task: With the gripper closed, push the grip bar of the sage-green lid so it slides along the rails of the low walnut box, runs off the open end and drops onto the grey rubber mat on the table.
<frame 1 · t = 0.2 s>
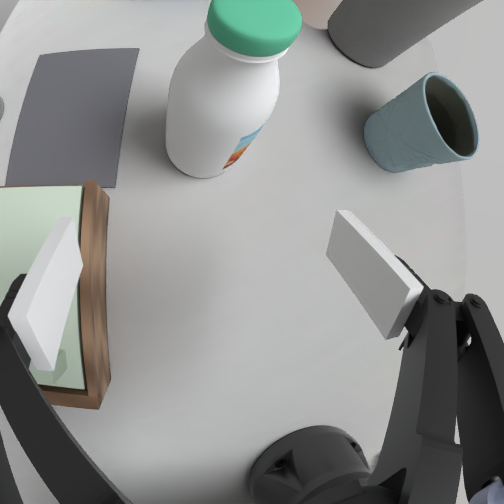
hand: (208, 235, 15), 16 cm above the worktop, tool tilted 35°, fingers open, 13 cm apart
milk bottle: (202, 144, 31), on the worktop
lid: (29, 286, 21), point 5 cm above the worktop, touching walnut box
teal cup: (388, 144, 37), on the worktop
canister: (356, 41, 37), on the worktop
walnut box: (50, 288, 26), on the worktop
mat: (69, 111, 27), on the worktop
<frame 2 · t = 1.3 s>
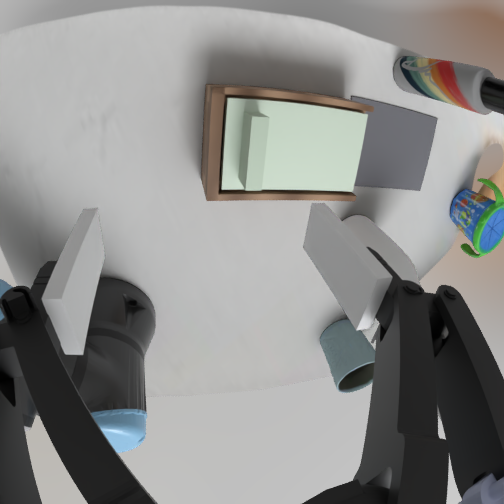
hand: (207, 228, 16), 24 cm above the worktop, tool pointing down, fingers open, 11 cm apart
milk bottle: (351, 234, 49), on the worktop
lotion bottle: (406, 73, 36), on the worktop
lid: (294, 145, 33), point 5 cm above the worktop, touching walnut box
teal cup: (337, 333, 63), on the worktop
walnut box: (275, 134, 38), on the worktop
mat: (391, 147, 42), on the worktop
snack cup: (459, 204, 52), on the worktop
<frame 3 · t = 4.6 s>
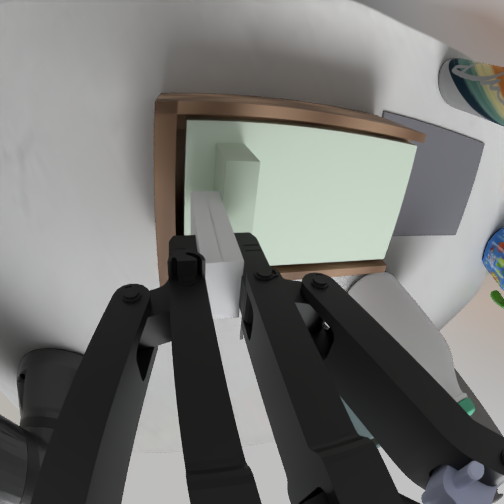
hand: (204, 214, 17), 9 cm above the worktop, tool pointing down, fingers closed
milk bottle: (368, 293, 37), on the worktop
lotion bottle: (453, 82, 24), on the worktop
lid: (303, 194, 21), point 6 cm above the worktop, touching gripper
teal cup: (340, 392, 51), on the worktop
canister: (416, 363, 54), on the worktop
walnut box: (270, 169, 26), on the worktop
mat: (428, 183, 30), on the worktop
snack cup: (493, 245, 40), on the worktop
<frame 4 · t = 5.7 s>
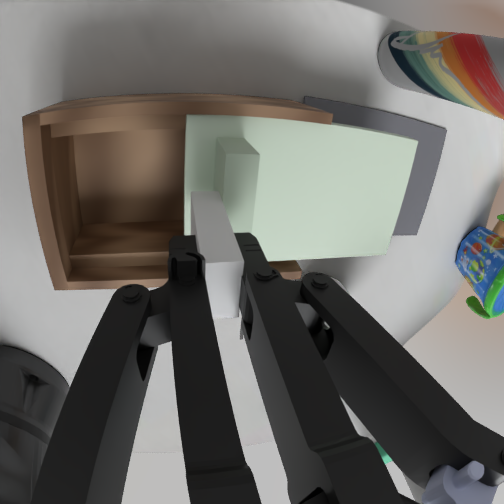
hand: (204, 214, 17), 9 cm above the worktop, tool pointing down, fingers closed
milk bottle: (311, 299, 35), on the worktop
lotion bottle: (399, 59, 22), on the worktop
lid: (303, 189, 21), point 6 cm above the worktop, touching gripper, walnut box
walnut box: (173, 168, 24), on the worktop
mat: (374, 176, 28), on the worktop
snack cup: (469, 246, 38), on the worktop
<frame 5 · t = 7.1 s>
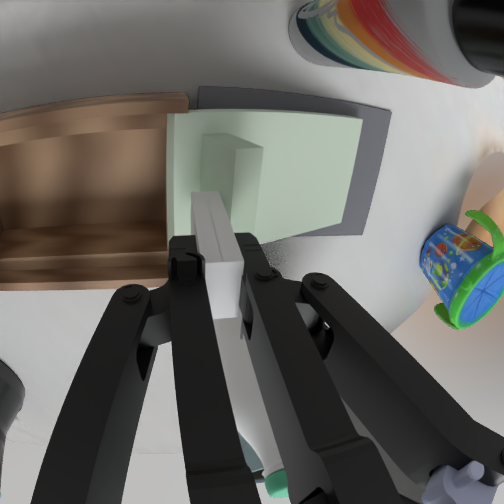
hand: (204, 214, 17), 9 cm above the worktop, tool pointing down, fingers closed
milk bottle: (241, 305, 33), on the worktop
lotion bottle: (319, 33, 20), on the worktop
lid: (271, 175, 23), point 3 cm above the worktop, tilted 21°, touching walnut box
teal cup: (254, 409, 47), on the worktop
canister: (351, 381, 50), on the worktop
walnut box: (73, 173, 22), on the worktop
mat: (296, 169, 26), on the worktop
snack cup: (437, 247, 36), on the worktop
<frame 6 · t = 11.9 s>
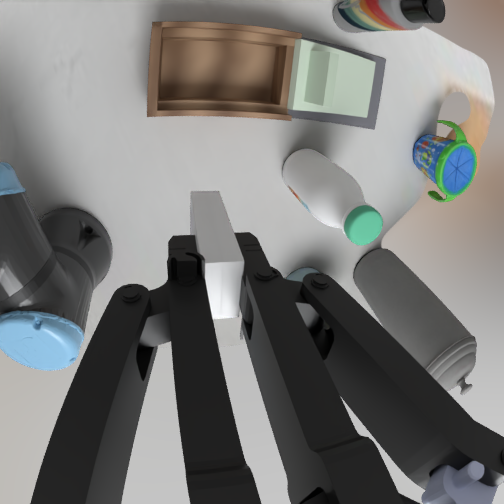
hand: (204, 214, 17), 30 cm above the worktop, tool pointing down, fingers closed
milk bottle: (303, 169, 50), on the worktop
lotion bottle: (347, 17, 37), on the worktop
lid: (333, 81, 40), point 3 cm above the worktop, tilted 20°, touching mat, walnut box
canister: (373, 267, 66), on the worktop
walnut box: (217, 69, 38), on the worktop
mat: (336, 84, 43), on the worktop
snack cup: (424, 151, 53), on the worktop
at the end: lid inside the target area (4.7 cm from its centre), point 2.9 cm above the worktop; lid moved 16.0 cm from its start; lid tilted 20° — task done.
